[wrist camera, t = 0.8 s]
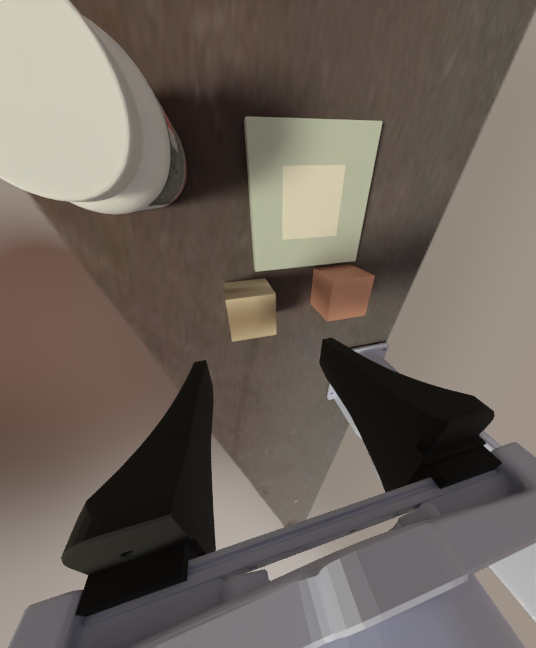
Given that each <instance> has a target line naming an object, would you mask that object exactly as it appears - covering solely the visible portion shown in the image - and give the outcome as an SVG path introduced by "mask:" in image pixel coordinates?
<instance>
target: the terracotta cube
mask: <svg viewBox="0 0 536 648" xmlns="http://www.w3.org/2000/svg"><path fill="white" fill-rule="evenodd" d="M374 278H375V275H373V274H371V273H368V272H366V271H364V270H362V269H360V268H358V267H355V266H353V265H351V264H344V265H335V266H326V267H317V268H314V270H313V282H312V293H311V305H312V306H313V307H314V308H315V309H316V310H317V311H318V312H319V313H320V314H321V315H322V316H323V317H324V318H325V320H326V321H334V320H340V319H346V318H352V317H359V316H365V314H366V310H367V306H368V302H369V298H370V294H371V290H372V286H373V282H374Z"/></svg>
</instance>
